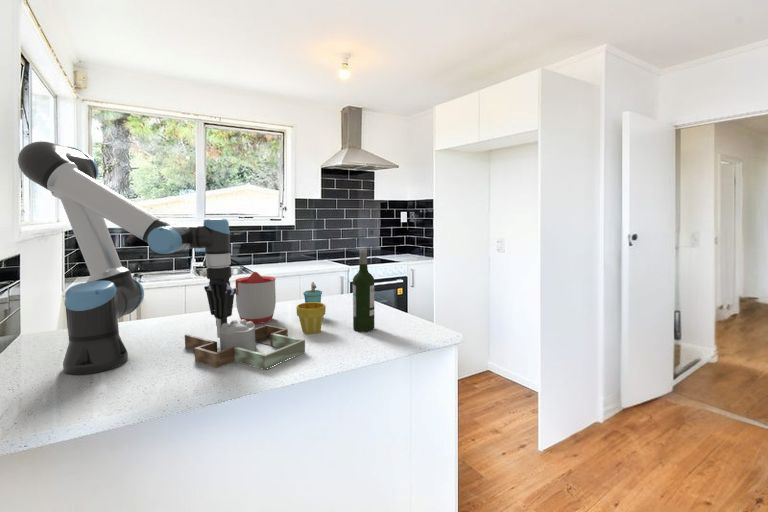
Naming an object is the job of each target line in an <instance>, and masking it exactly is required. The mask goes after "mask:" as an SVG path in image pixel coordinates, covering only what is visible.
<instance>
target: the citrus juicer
mask: <svg viewBox="0 0 768 512" xmlns="http://www.w3.org/2000/svg"><path fill="white" fill-rule="evenodd" d="M234 288H235V289H236V292H235V294H234V295H235V302H236V304H235V305H236V310H237V314H238V315H239V316H238V317H239V319H240V321H241V320H242V319H245V320H246V321H247V322H249V321H252V322H253V323H254V325H255V324H256V325H257V324H263V323H268V322H270V321H271V320H272V319H273V318H274V314H275V309H276V303H277V302H276V300H277V299H276V297H277V296H276V277H274V276H269V275H268V276H266V275H263V276H262V275H260V273H259V272H257V271H253V273H251V274H250V276H244V277H243V276H242V277H239V278H236V279H235V287H234Z"/></svg>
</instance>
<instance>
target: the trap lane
mask: <svg viewBox="0 0 768 512" xmlns="http://www.w3.org/2000/svg"><path fill="white" fill-rule="evenodd" d="M255 343H256V344H257V343H258V344H261V345H262V344H263V345H265V346H269V347H273V346H274V347H275V348H277V349H275V350H274V351H271V352H268V353H261V352H257V351H255V350H254V351H250V350H246V349H243V348H239V347H235V346H234V347H231V348H229V349H226V350H223V351H220V350H219V349H218V341H215V340H211V339H208V338H204V337H200V336H196V335H192V334H189V333H186V334H184V347H185V348H188V349H191V350H193V351H194V361H195V362H197V363H198V364H199V363H200V364H203V365H206V366H209V367H213V368H216V369H218V368H220V367H223V366H226V365H228V364H230V363H233V362H237V363H241V364H243V365H248V366H250V365H251V366H250V367H253V366H255V367H254V368H257V367H258V368H257V369H260V368H263V369H262V370H264V369H267V368H269V369H271V368H270V367H272V366H274V365H276V364H278V363H280V362H283V361H285V360H287V359H289V358H292V357H294V356H296V357H298V356H297V355H299V354H301V353H303V354H305V353H306V341H305V339H300V338H297V337H292V336H289V329H288V328H285V327H279V326H275V325H271V324H270V325H269V324H265V325H261V326H260V327H255ZM278 347H279V348H278ZM304 352H305V353H304ZM301 355H302V354H301ZM299 356H300V355H299ZM294 358H295V357H294ZM292 359H293V358H292ZM287 361H288V360H287ZM285 362H286V361H285ZM283 363H284V362H283ZM278 365H279V364H278ZM276 366H277V365H276ZM274 367H275V366H274ZM272 368H273V367H272ZM267 370H268V369H267Z"/></svg>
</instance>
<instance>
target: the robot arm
mask: <svg viewBox="0 0 768 512" xmlns="http://www.w3.org/2000/svg"><path fill="white" fill-rule="evenodd" d="M17 164H18V167H19V169H20V171H21V173H22V174H24V176H25V177H27V179H28V180H31V181H32V182H33V183H35V184H37V185H39V186H40V187H42V188H44V189H46V190H47V191H49V192H50V193H51V196H53V197H54V198H57V199H59V200H60V201H61V205H62V206H63V209H64V211H65V214H66V216H67V219H68V223H69V225H70V226H71V230H72V232H73V234H74V236H75V239H76V242H77V243H78V247H79V250H80V252H81V254H82V257H83V260H84V261H85V262H84V263H85V265H86V267H87V270H88V273H89V277H88V279H87V280H86V282H83V283H77V284H74V285H72V286H71V287H69V288H67V289H66V291H65V293H64V298H65V299H64V308H65V317H66V325H67V335H68V345H67V348H66V352H65V354H64V357H63V361H62V366H63V367H62V370H63V372H64V373H65V374H68V375H88V374H95V373H100V372H105V371H108V370H113V369H115V368H117V367H119V366H122V365H124V364H126V362H127V361H128V360H129V355H128V354H129V353H128V350H127V348H126V345H125V344H124V342H123V339H122V337H121V336H120V331H119V319H120V318H122V317H124V316H126V315H130V314H131V313H133V312H134V311H136V310H137V308H139V307H140V306H141V304H142V303H143V301H144V297H145V290H144V288H143V285H142V284H141V282H140V281H139V280H137V279H135V278H133V275H132V272H131V270H130V269H128V268H127V267H124V266H123V265H122V262H121V260H120V258H119V255H118V251H117V250H116V247H115V244H114V241H113V239H112V235H111V234H110V231H109V228H108V225H107V223H106V221H105V220H107V221H109V222H111V223H112V224H114V225H116V226H118V227H120V228H121V229H123V230H124V231H127V232H128V233H130V234H131V235H133V236H135V237H137V238H138V239H140V240H142V241H143V242H145V243H147V245H148V246H149V248H150V250H151V251H153V252H155V253H157V254H161V255H162V254H163V255H169V254H173V253H175V252H179V251H182V250H187V249H188V250H191V249H204V251H205V252H204V254H205V255H204V256H205V266H206V268H205V269H206V279H207V280H209V282H208V285H205V286H204V287H203V288H204V289H203V290H205V292H206V297H207V302H208V307H209V310H210V311H209V312H210V315H211V316H213V317H214V318H215V327H216V335H217V338H218V339H220V328H221V326H222V324H223V323H228V317H231V316H233V308H234V300H235V295H236V294H235V292H236V289H235V288H236V287H234V288H232V287H231V282H230V279H231V278H232V276H233V275H232V267H231V266H230V265H232V261H231V257H232V256H231V231H230V224H229V221H228V219H226V218H205V219H204V220H203V224H172V225H171V224H170V223H167V222H166V221H164V220H163V219H161V218H159V217H158V216H156V215H154V214H153V213H151V212H150V211H147V210H146V209H144V208H143V207H141V206H139V205H138V204H136V203H134V202H132V201H131V200H130V199H128V198H126V197H124V196H123V195H120V194H119V193H117V192H116V191H114V190H112V189H111V188H109V187H107V186H106V185H104V184H103V183H100V182H99V181H97V178H98V175H99V167H98V165H97V163H96V160H94V159H93V157H92V156H91V155H89V153H86V152H85V151H82V150H80V149H78V148H75V147H72V146H64V145H61V144H58V143H54V142H49V141H43V140H41V141H34V142H30V143H27V144H26V145H25V146H24V147H22V148H21V150H20V152H19V154H18V156H17Z"/></svg>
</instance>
